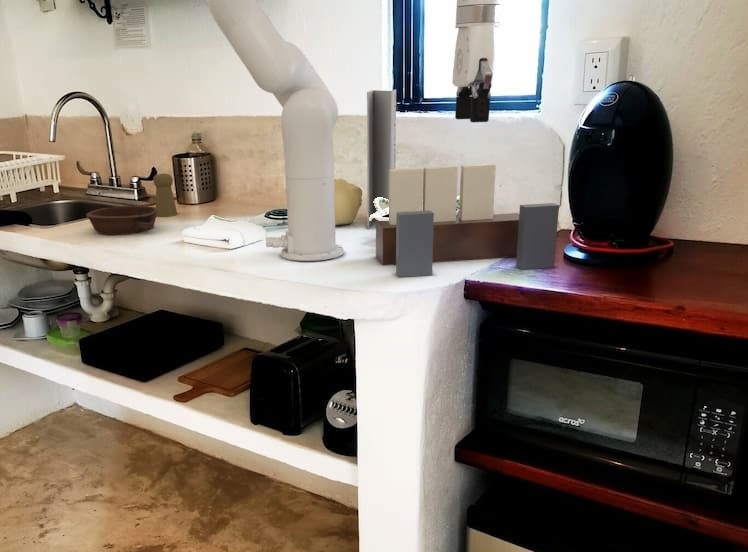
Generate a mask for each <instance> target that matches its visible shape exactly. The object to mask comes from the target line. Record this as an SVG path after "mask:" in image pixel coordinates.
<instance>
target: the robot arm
mask: <svg viewBox="0 0 748 552" xmlns="http://www.w3.org/2000/svg"><path fill="white" fill-rule="evenodd" d="M205 1H206V4H207V6H208V9H209V11H210V14H211V16H212V18H213V19H214V22H215V24H217V26H218V28H219V29H220V31H221V32H222V34H223V36H225V38H226V40H227V42H228V43H229V44H230V45H231V47H232V49H233V50H234V52H235V53H236V55H237V57H238V58H239V59H240V61H241V62H242V63H243V66H245V68H246V70H247V71H248V72H249V74H250V76H251V78H252V80H253V81H254V82H255V84H256V85H257V86H258V88H260V89H261V90H262V91H264V92H266V93H268V94H272V95H273V96H274V98H275V99H276V101H277V102H278V103H279V104H280V106H281V108H282V109H281V115H280V126H281V127H280V130H281V137H282V146H283V156H284V169H285V170H284V173H285V175H284V176H285V189H286V190H285V192H286V212H287V213H286V214H287V230H286V231H285V234H281V235H280V236H278V237H277V236H276V237H275V236H269V237H268V236H267V237H265V246H266V247H265V248H272V249H277V248H282V249H281V250H280V251H281V252H280V253H281V257H282V258H284V259H286V260H290V261H297V262H298V261H300V262H318V261H327V260H331V259H335V258H339V257H341V256H342V255H344V252H345V251H344V247H343V246H342V245H340V244H336V243H337V241H336V225H335V193H334V179H335V160H334V159H335V158H334V157H335V156H334V144H333V143H334V142H333V141H334V140H333V129H334V128H335V126H336V125H337V121H338V117H339V108H338V103H337V101H336V99H335V97H334V96H333V94H332V93H331V91H330V90H329V88H328V87H327V86H326V84H325V82H324V81H323V80H322V78H321V76H320V75H319V73H318V71H316V69H315V68H314V66H313V64H312V63H311V62H310V61H309V59H308V57H307V56H306V55H305V54H304V52H303V51H302V50H301V49H300V47H298V46H297V45H296V44H294V43H292V42H291V41H287V40H285V39H284V37H283V36H282V35H281V34H280V32H279V30H278V29H277V28H276V27H275V25H274V24H273V23H272V21H271V19H270V17H269V16H268V14H267V13H266V11H265V10H264V9H263V7H262V6H261V5H260V4H259V2H258V1H257V0H205ZM501 5H502V0H456V7H455V8H456V10H455V27H454V28H455V29H458V30H457V35H456V42H455V48H454V59H453V69H452V79H451V80H452V85H453V86H454V87H456V98H455V114H454V118H455V120H469V122H470V123H488V122H489V120H490V106H491V96H492V92H491V88H492V87H493V86H492V85H493V84H492V82H493V79H494V73H495V71H494V70H495V55H496V53H495V52H496V27H500V22H501V21H500V19H501V7H502V6H501Z"/></svg>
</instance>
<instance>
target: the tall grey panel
mask: <svg viewBox="0 0 748 552" xmlns="http://www.w3.org/2000/svg"><path fill="white" fill-rule="evenodd" d="M366 147H367V148H366V152H367V153H366V166H367V167H366V172H367V174H366V176H367V177H366V179H367V181H366V182H367V183H366V184H367V187H366V189H367V190H366V192H367V193H366V195H367V196H366V197H367V199H366V200H367V202H366V203H367V205H366V207H367V208H366V209H367V210H366V211H367V230H370V227H371V225H372V223H373V221H372V222H371V221H369V217H370V215H371V214H373V213H375V212H376V211H377V210H376V208H375V206H374V203H373V201H374V199H375V198H377V197H383V198H386V199H388V200H389V170H390V169H397V168H396V162H397V161H396V157H397V155H396V153H397V150H396V147H397V89H396V88H395V89H392V90H379V89H378V90H377V89H375V90H374V89H373V90H369V91H367V92H366Z"/></svg>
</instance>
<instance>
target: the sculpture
mask: <svg viewBox="0 0 748 552" xmlns="http://www.w3.org/2000/svg"><path fill="white" fill-rule="evenodd" d="M334 193H335V226H339V225H349V224H351V223H353V221H355V219H356V217H357V215H358V213H359V210H360V208H361V207H362V204H363V198H362V196H363V190H362V188H360V187H359V186H357V185H355V184H352V183H349V182H348V181H347V180H346V179H343V178H338V179H336V178H334Z"/></svg>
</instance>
